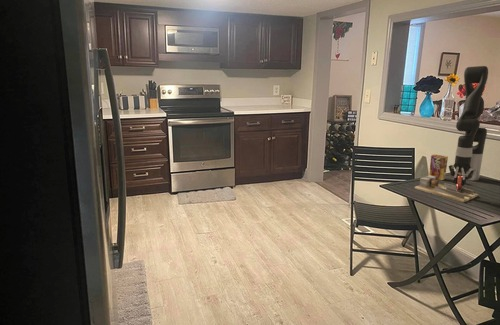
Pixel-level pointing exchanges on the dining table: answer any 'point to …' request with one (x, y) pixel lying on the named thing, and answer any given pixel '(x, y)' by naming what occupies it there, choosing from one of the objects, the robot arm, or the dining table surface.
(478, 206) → the dining table surface
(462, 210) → the dining table surface
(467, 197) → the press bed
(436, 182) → the nut
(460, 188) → the plate with copper rod
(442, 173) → the candy box
